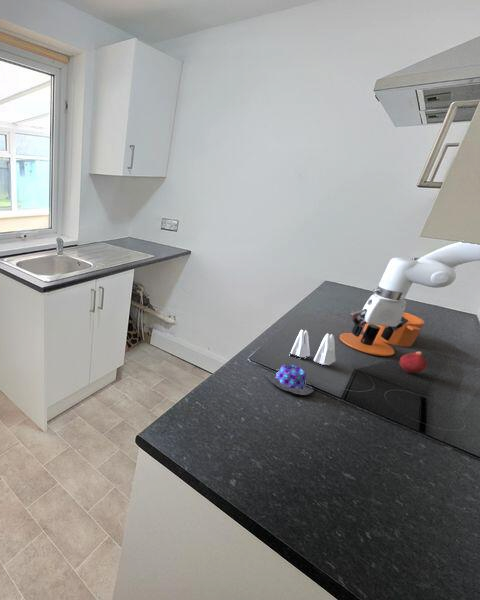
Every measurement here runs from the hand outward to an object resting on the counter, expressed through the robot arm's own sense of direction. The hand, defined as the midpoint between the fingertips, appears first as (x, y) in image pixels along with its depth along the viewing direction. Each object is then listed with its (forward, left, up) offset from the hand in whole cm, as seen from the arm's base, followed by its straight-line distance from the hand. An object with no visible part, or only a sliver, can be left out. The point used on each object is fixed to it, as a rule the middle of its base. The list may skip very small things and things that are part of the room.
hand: (369, 336), depth 114 cm
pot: (-14, -11, -4) cm, 18 cm away
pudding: (+39, +33, -4) cm, 51 cm away
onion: (-3, +16, -4) cm, 17 cm away
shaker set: (+26, +17, -4) cm, 31 cm away
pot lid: (0, 0, -3) cm, 3 cm away
